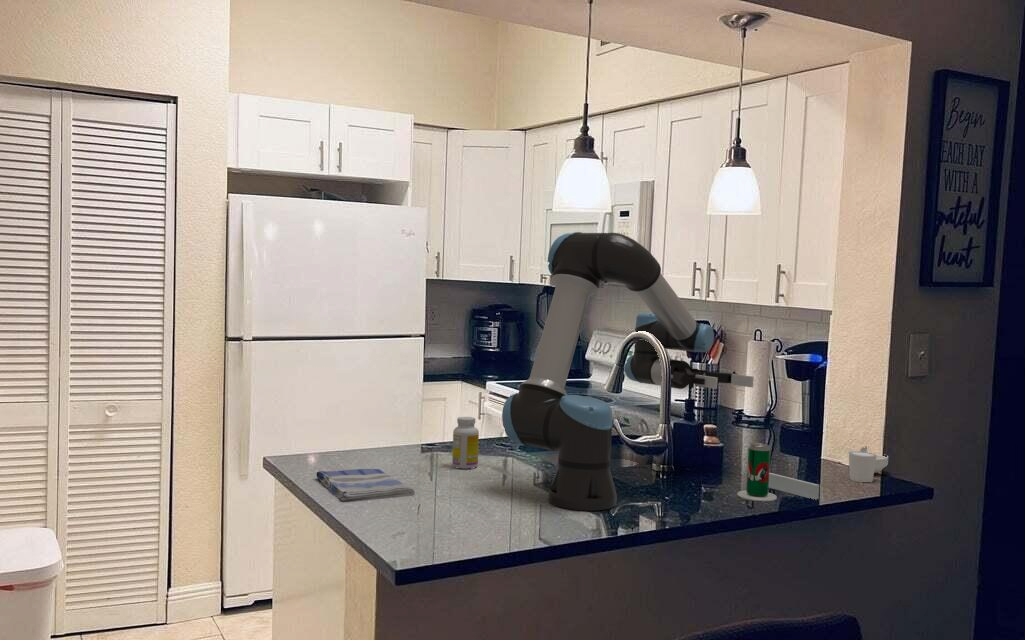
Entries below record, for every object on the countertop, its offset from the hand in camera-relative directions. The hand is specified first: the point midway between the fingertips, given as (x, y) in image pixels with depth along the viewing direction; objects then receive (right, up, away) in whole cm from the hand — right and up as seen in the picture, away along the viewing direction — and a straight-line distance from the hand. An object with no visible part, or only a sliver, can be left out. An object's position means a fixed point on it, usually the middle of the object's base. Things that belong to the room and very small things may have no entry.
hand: (734, 382), depth 218 cm
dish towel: (-90, -24, -14) cm, 94 cm away
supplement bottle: (-68, -23, +10) cm, 72 cm away
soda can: (+3, -26, -10) cm, 28 cm away
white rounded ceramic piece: (+42, -26, +22) cm, 54 cm away
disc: (+3, -26, -10) cm, 28 cm away
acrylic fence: (+11, -26, -4) cm, 29 cm away
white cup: (+36, -27, +12) cm, 47 cm away
